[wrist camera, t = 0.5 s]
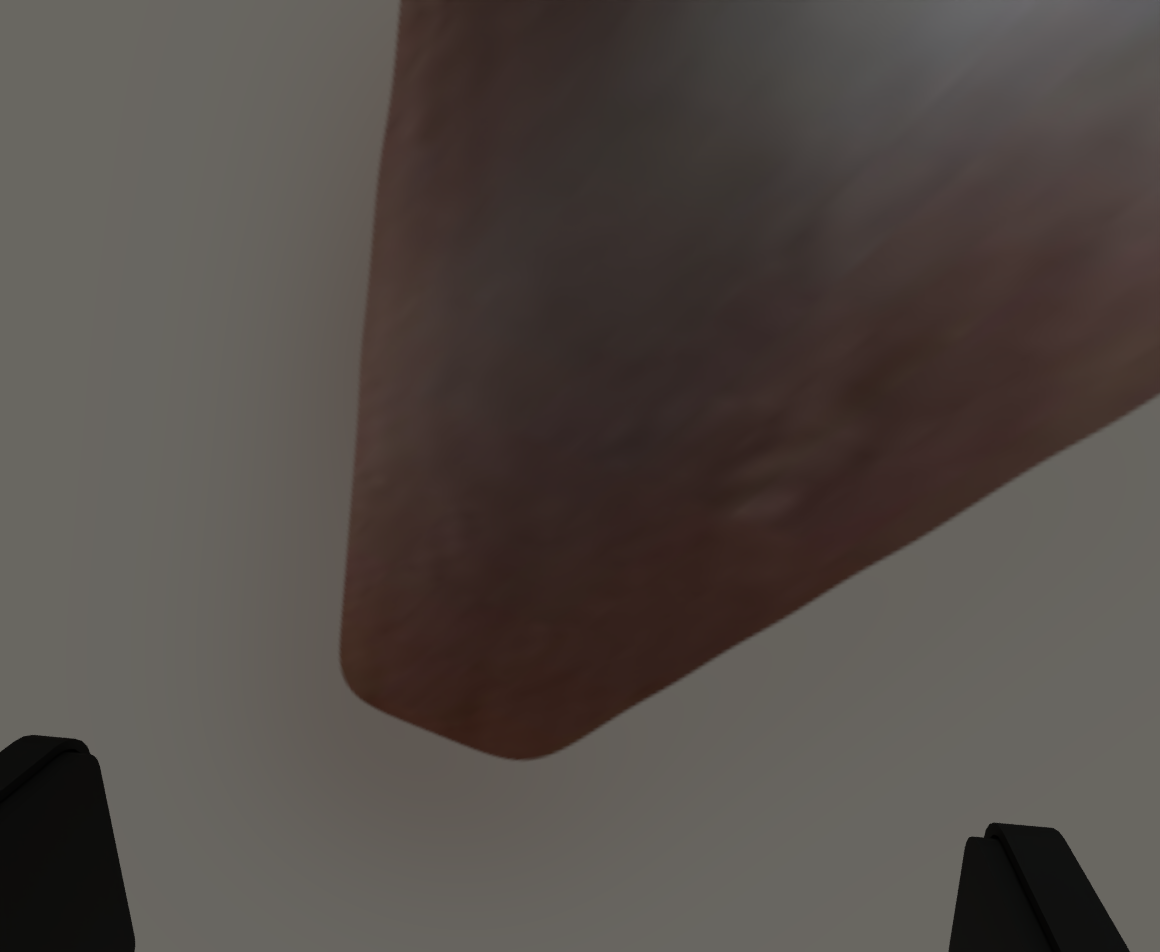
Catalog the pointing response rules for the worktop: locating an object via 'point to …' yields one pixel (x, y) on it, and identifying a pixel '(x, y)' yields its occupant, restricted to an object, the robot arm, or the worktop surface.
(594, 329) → the worktop surface
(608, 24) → the worktop surface
